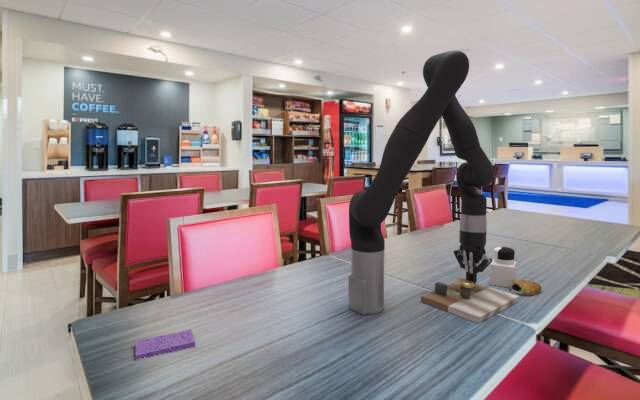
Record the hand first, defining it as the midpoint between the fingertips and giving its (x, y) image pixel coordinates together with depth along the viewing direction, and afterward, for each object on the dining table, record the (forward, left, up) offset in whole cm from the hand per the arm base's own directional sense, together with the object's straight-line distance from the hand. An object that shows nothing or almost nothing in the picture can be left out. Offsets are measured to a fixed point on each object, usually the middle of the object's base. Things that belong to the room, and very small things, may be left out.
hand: (471, 283), depth 114 cm
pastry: (+14, -10, -4) cm, 18 cm away
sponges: (-83, +28, -4) cm, 87 cm away
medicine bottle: (+16, -2, -3) cm, 17 cm away
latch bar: (-5, -1, -1) cm, 5 cm away
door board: (-6, -3, -3) cm, 7 cm away
